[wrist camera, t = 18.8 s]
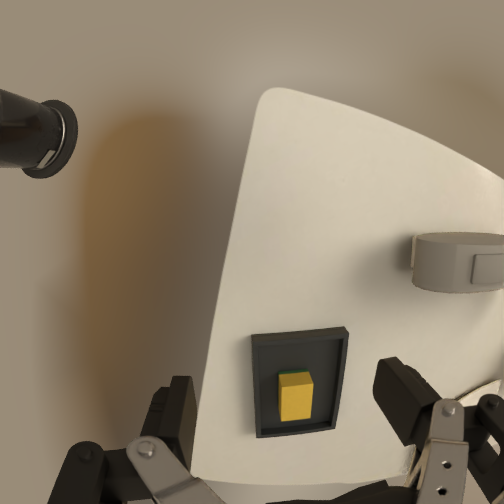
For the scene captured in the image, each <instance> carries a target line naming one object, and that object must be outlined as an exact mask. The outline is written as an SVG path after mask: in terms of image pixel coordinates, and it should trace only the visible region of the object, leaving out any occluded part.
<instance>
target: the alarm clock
mask: <svg viewBox="0 0 504 504" xmlns="http://www.w3.org/2000/svg"><path fill="white" fill-rule="evenodd" d="M410 267H412V268H413V276H412V283H413V284H414V285H415V286H416V287H419V288H421V289H424V290H429V291H434V292H444V293H478V292H487V291H494V290H499V289H503V288H504V235H499V234H488V233H469V232H443V233H429V234H422V235H418V236H413V241H412V254H411V266H410Z"/></svg>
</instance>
